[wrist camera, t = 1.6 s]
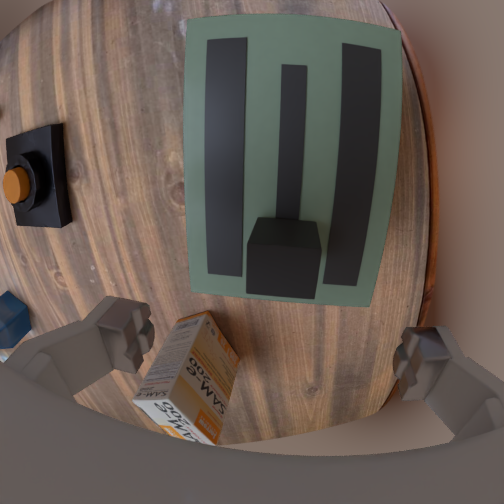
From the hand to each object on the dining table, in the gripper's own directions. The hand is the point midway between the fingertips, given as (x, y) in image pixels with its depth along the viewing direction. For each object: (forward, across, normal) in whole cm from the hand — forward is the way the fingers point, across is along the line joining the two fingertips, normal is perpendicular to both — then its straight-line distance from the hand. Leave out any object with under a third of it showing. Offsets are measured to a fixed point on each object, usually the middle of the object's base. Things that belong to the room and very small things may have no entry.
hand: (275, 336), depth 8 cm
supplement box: (+19, +8, +18) cm, 27 cm away
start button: (+15, +30, -2) cm, 34 cm away
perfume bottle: (+19, +47, +22) cm, 55 cm away
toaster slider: (+7, 0, 0) cm, 7 cm away
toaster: (+18, 0, -4) cm, 19 cm away
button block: (+18, +30, -2) cm, 35 cm away
